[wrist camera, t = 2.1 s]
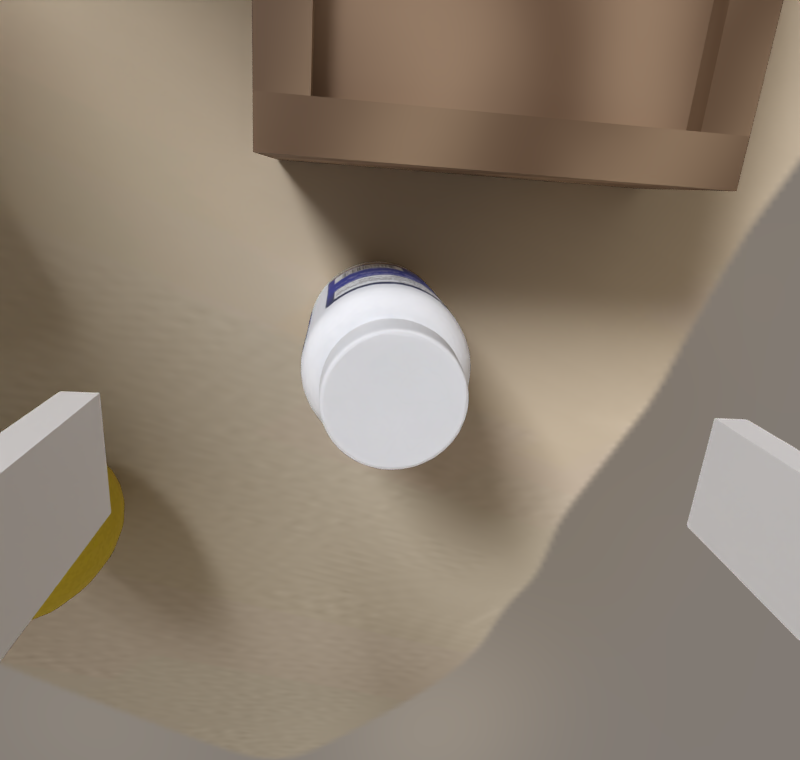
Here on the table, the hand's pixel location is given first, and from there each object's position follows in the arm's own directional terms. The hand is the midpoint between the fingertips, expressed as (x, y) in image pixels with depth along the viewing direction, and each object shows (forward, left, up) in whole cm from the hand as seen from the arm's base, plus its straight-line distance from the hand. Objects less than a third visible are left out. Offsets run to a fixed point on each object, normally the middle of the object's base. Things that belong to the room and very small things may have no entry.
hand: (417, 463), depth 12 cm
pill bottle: (0, 0, -12) cm, 12 cm away
